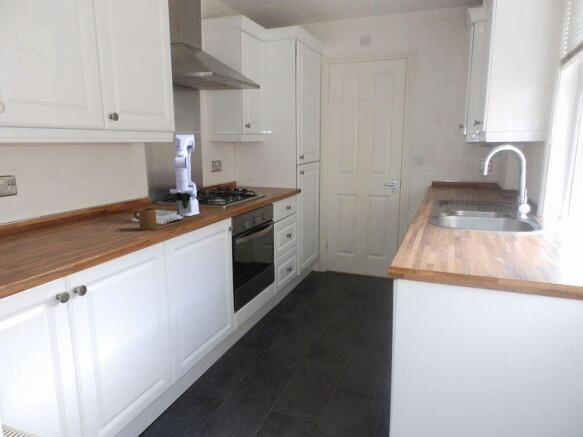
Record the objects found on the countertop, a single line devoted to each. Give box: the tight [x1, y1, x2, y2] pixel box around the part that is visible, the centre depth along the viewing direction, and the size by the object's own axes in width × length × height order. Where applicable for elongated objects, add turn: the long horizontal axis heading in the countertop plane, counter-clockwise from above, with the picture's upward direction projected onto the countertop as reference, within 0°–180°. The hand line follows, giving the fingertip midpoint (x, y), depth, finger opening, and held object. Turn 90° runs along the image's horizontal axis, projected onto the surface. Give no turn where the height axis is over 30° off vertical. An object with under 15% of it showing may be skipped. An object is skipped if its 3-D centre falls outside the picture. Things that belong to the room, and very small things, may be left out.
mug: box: [132, 207, 158, 232], centre depth 193 cm, size 12×8×9 cm, turn 66°
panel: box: [175, 199, 191, 216], centre depth 210 cm, size 9×2×7 cm, turn 155°
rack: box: [131, 209, 184, 225], centre depth 215 cm, size 16×20×4 cm
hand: (183, 207), depth 210 cm, fingers closed on panel, 2 cm apart
